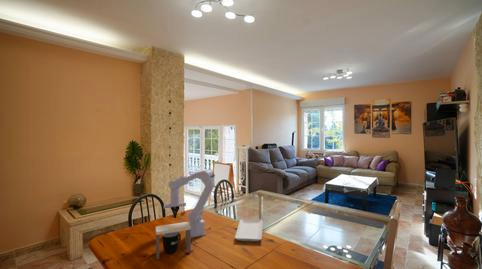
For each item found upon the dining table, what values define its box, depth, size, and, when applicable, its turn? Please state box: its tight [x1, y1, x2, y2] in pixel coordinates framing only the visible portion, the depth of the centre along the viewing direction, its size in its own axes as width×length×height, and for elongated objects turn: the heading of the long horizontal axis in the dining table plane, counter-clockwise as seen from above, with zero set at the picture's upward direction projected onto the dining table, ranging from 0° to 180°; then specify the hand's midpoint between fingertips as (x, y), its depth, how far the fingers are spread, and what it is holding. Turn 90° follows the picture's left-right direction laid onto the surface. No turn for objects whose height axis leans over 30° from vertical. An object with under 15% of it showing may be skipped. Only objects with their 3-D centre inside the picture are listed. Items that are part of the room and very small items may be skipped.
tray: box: [234, 218, 264, 242], centre depth 153 cm, size 17×32×4 cm, turn 173°
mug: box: [161, 231, 182, 255], centre depth 130 cm, size 12×9×10 cm
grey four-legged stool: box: [155, 221, 192, 260], centre depth 127 cm, size 18×8×14 cm, turn 113°
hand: (174, 217), depth 154 cm, fingers closed
